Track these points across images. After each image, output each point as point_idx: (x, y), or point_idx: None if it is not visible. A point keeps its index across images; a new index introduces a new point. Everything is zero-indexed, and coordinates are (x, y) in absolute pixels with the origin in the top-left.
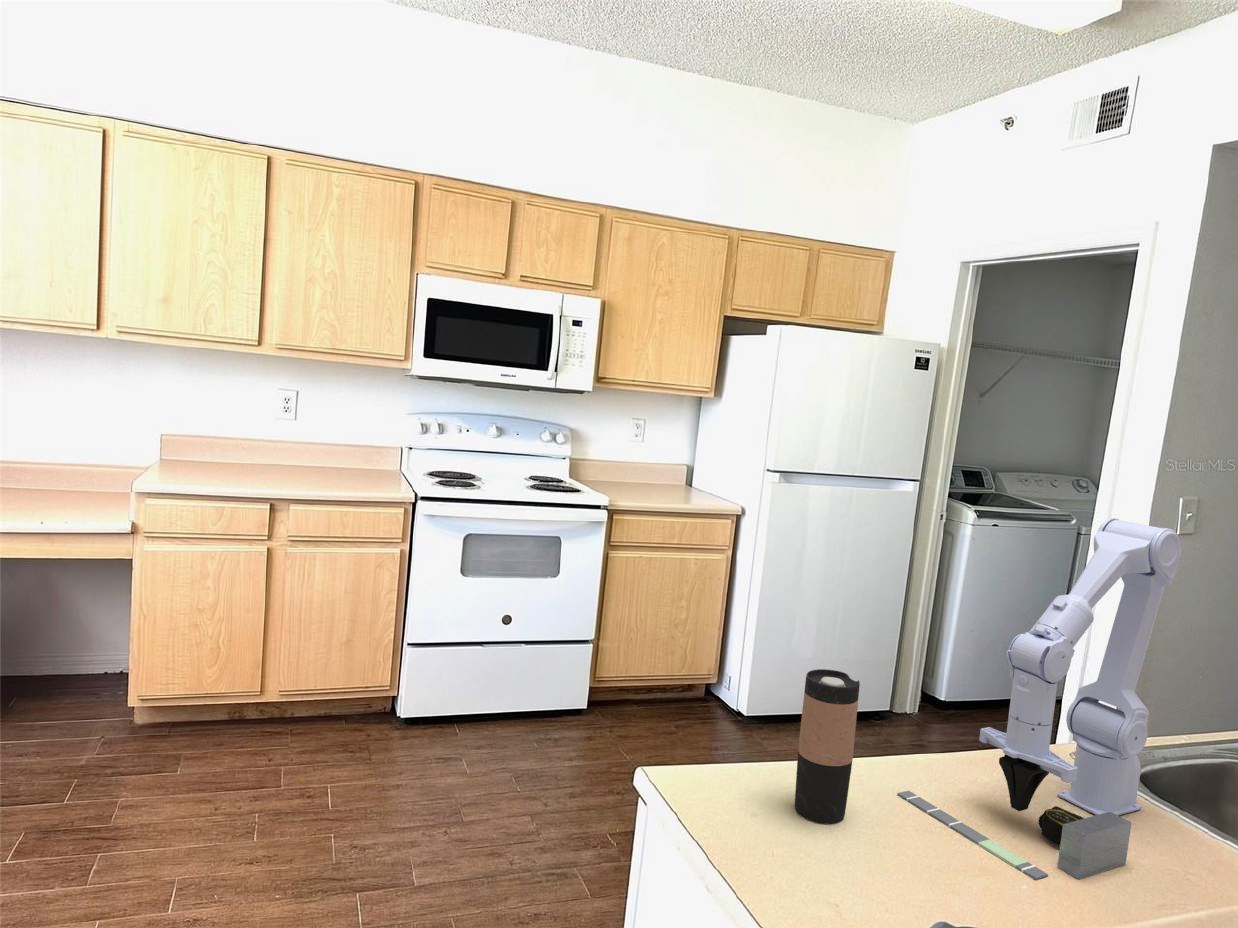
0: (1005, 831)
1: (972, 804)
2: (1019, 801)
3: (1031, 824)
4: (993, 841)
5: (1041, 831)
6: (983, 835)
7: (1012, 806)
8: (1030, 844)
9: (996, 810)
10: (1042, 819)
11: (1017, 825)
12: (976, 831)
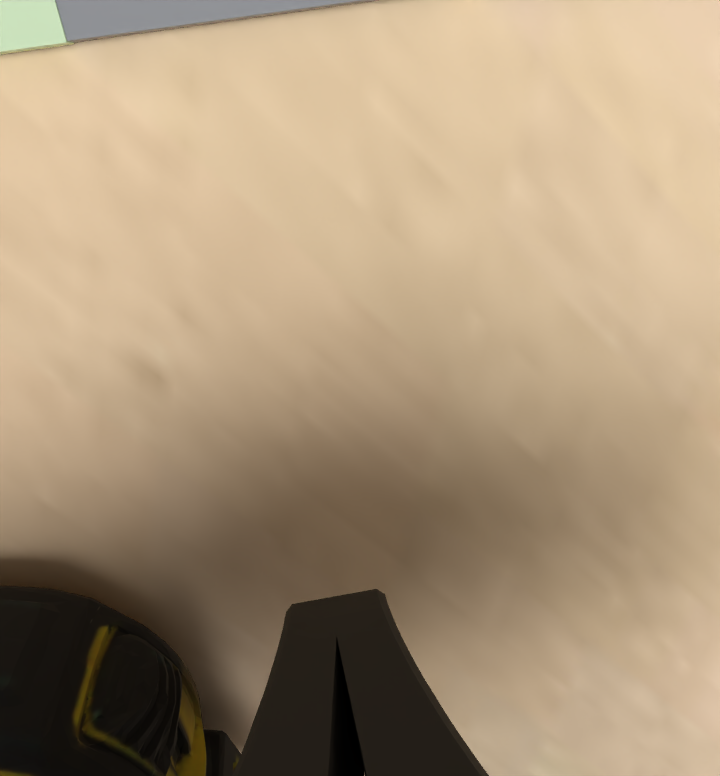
0: (242, 366)
1: (697, 406)
2: (271, 684)
3: None
4: (11, 38)
5: (79, 608)
6: (161, 29)
7: (357, 598)
8: (5, 426)
9: (549, 527)
10: (94, 704)
11: (312, 530)
12: (248, 5)
